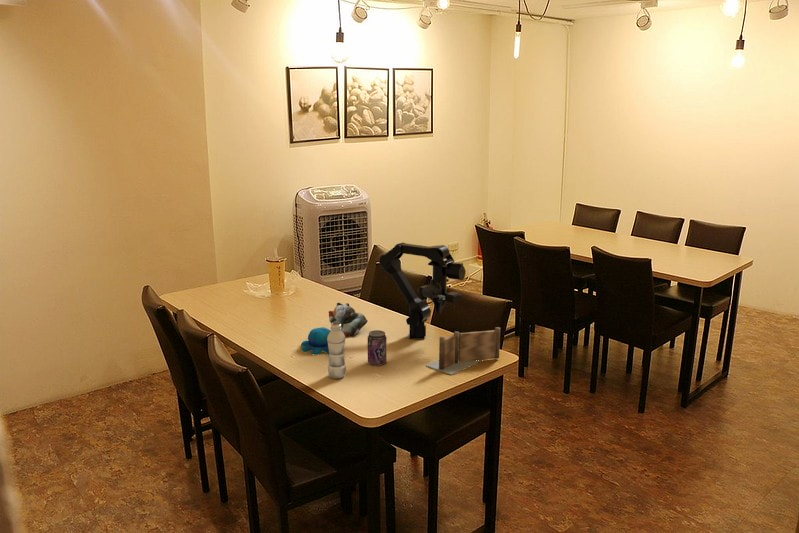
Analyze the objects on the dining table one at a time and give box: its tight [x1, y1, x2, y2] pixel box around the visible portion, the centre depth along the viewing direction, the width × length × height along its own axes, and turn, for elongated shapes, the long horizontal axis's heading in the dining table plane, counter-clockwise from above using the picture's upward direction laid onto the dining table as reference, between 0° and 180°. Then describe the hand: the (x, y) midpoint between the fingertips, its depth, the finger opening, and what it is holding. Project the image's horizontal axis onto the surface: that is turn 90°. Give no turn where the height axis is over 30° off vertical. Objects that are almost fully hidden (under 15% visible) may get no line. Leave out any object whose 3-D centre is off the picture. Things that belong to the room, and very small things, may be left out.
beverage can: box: [367, 329, 387, 367], centre depth 237 cm, size 7×7×12 cm
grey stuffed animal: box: [328, 302, 368, 337], centre depth 271 cm, size 15×12×14 cm
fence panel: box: [458, 326, 501, 362], centre depth 239 cm, size 16×2×12 cm, turn 104°
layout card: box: [426, 358, 483, 376], centre depth 240 cm, size 12×25×1 cm, turn 137°
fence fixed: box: [438, 330, 460, 370], centre depth 234 cm, size 10×2×12 cm, turn 136°
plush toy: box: [300, 326, 331, 356], centre depth 253 cm, size 17×17×8 cm
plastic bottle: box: [327, 322, 347, 380], centre depth 223 cm, size 6×7×20 cm
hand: (438, 313), depth 258 cm, fingers closed
